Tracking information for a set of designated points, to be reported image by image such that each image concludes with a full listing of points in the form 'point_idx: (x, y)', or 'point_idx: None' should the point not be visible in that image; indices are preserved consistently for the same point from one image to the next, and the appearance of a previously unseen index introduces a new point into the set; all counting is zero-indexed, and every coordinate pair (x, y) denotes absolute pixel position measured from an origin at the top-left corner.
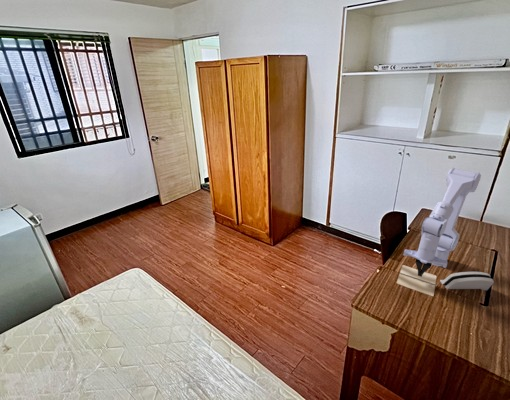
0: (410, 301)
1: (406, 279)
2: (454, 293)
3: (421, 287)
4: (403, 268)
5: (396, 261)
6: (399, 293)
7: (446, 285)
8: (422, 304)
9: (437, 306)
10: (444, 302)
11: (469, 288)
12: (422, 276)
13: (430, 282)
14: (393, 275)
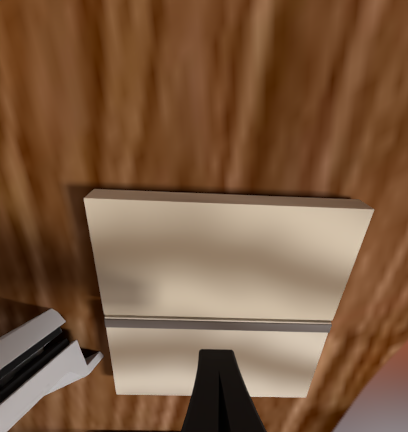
0: (247, 52)
1: (288, 288)
2: (2, 308)
3: (182, 255)
4: (301, 374)
5: (326, 404)
6: (335, 116)
7: (37, 345)
8: (149, 71)
9: (44, 117)
10: (19, 194)
11: None
12: (188, 358)
13: (135, 330)
14: (358, 295)
